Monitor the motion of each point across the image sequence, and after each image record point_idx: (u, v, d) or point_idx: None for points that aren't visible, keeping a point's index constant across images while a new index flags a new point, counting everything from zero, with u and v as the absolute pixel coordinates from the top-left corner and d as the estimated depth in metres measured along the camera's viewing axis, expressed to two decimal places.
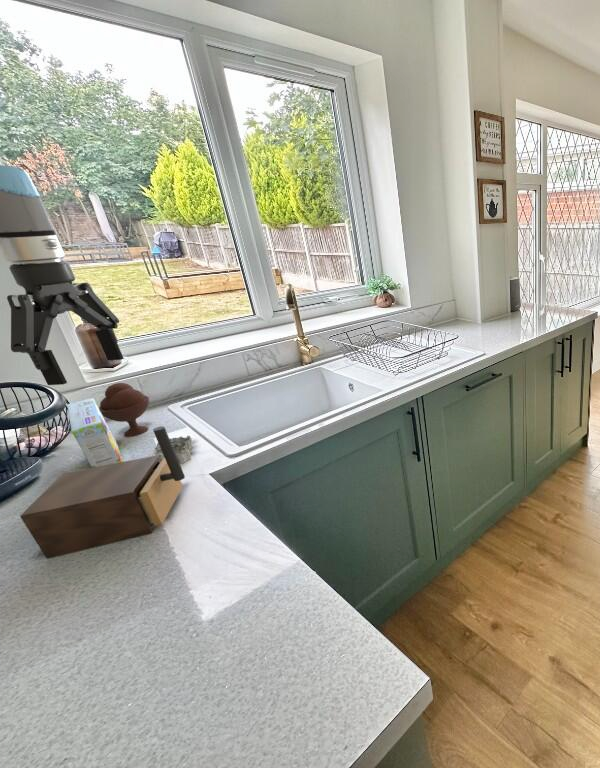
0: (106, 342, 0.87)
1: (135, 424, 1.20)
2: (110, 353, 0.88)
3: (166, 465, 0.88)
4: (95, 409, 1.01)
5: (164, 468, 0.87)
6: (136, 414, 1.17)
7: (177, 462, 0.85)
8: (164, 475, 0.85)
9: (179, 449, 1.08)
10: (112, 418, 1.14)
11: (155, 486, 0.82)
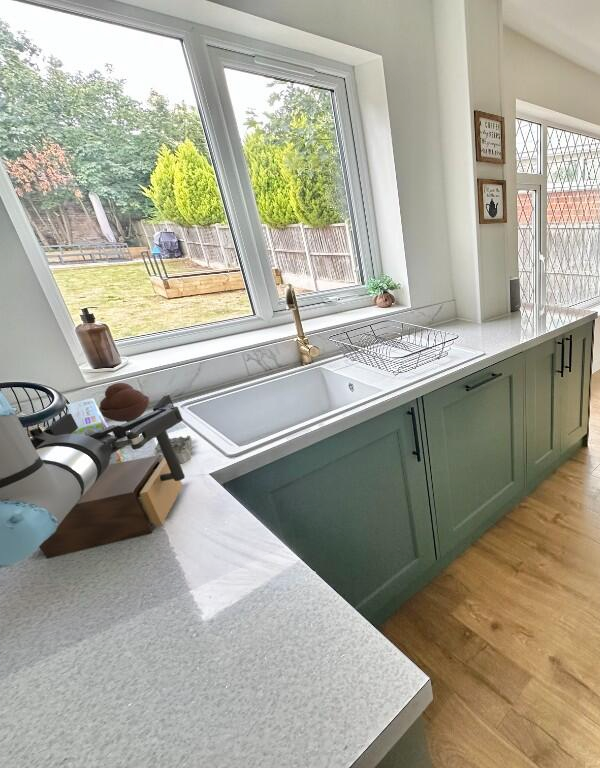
0: None
1: None
2: None
3: (166, 465, 0.88)
4: (95, 409, 1.01)
5: (164, 468, 0.87)
6: (136, 414, 1.17)
7: (177, 462, 0.85)
8: (164, 475, 0.85)
9: (179, 449, 1.08)
10: (112, 418, 1.14)
11: (155, 486, 0.82)
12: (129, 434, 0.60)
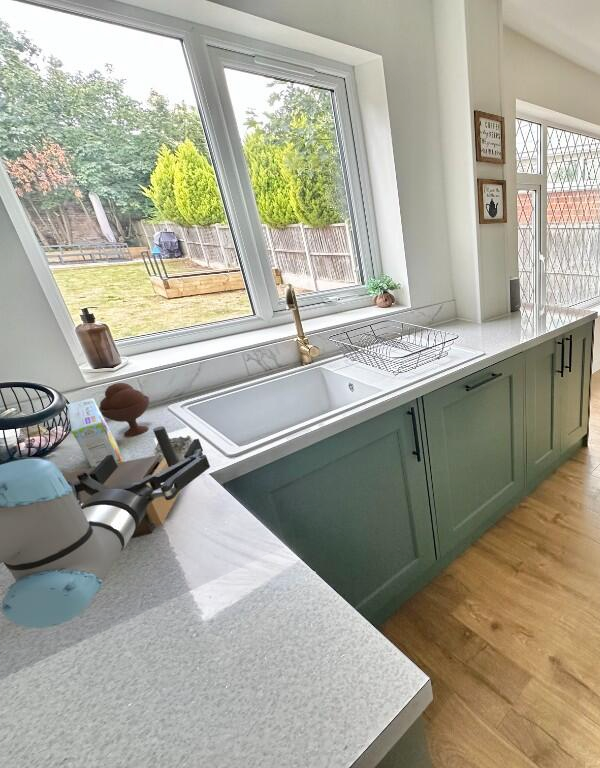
0: None
1: (135, 424, 1.20)
2: None
3: (166, 465, 0.88)
4: (95, 409, 1.01)
5: (164, 468, 0.87)
6: (136, 414, 1.17)
7: (177, 462, 0.85)
8: None
9: (179, 449, 1.08)
10: (112, 418, 1.14)
11: None
12: (163, 487, 0.67)
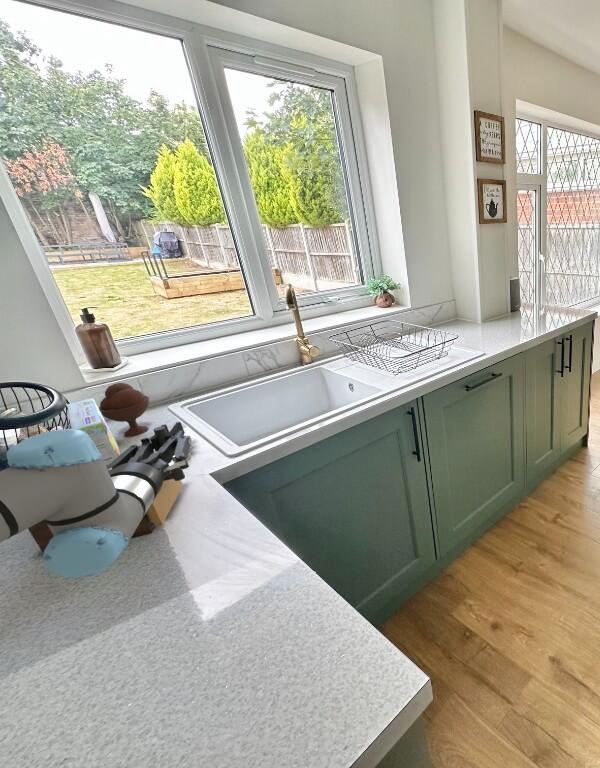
0: None
1: (135, 424, 1.20)
2: None
3: None
4: (95, 409, 1.01)
5: None
6: (136, 414, 1.17)
7: None
8: None
9: None
10: (112, 418, 1.14)
11: None
12: (181, 457, 0.75)
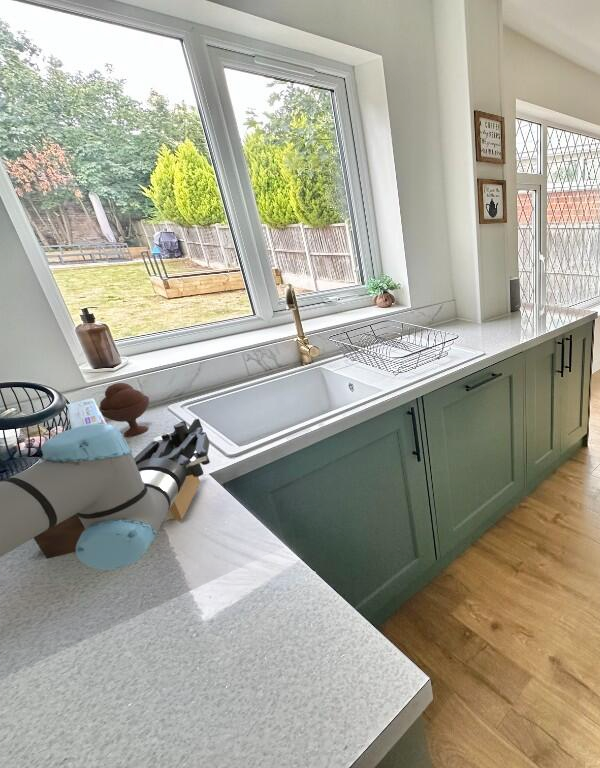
0: None
1: (135, 424, 1.20)
2: None
3: None
4: (95, 409, 1.01)
5: None
6: (136, 414, 1.17)
7: None
8: None
9: None
10: (112, 418, 1.14)
11: None
12: (202, 453, 0.76)
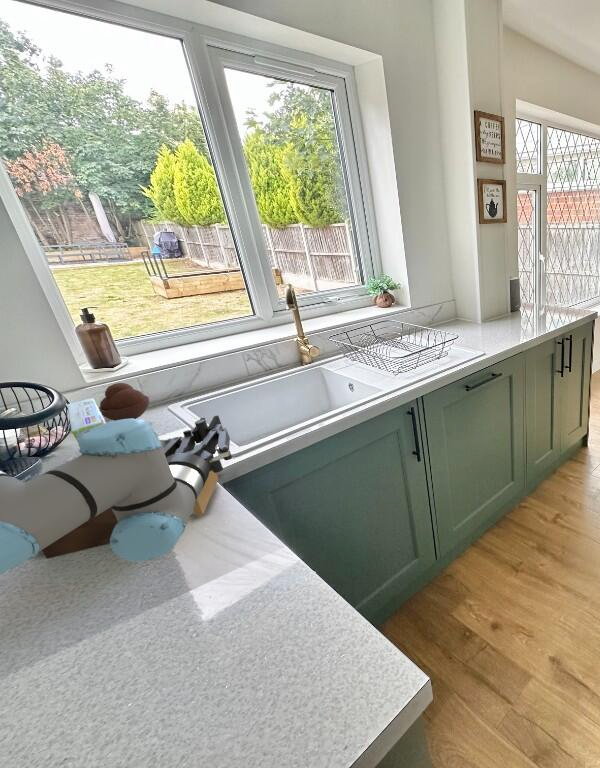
0: None
1: None
2: None
3: None
4: (95, 409, 1.01)
5: None
6: (136, 414, 1.17)
7: None
8: None
9: None
10: (112, 418, 1.14)
11: None
12: (225, 448, 0.77)
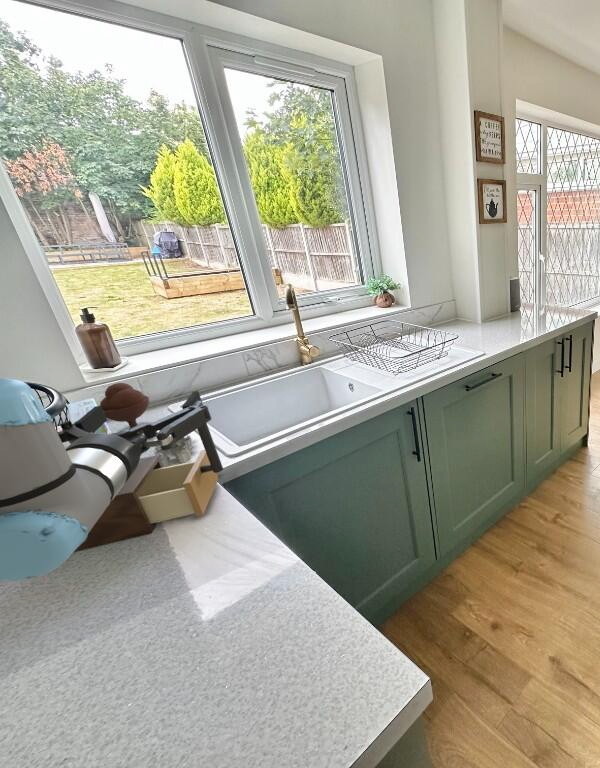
0: None
1: (135, 424, 1.20)
2: None
3: (204, 457, 0.90)
4: None
5: (203, 460, 0.89)
6: (136, 414, 1.17)
7: (216, 454, 0.87)
8: (204, 467, 0.87)
9: (179, 449, 1.08)
10: (112, 418, 1.14)
11: (196, 477, 0.85)
12: (159, 435, 0.59)
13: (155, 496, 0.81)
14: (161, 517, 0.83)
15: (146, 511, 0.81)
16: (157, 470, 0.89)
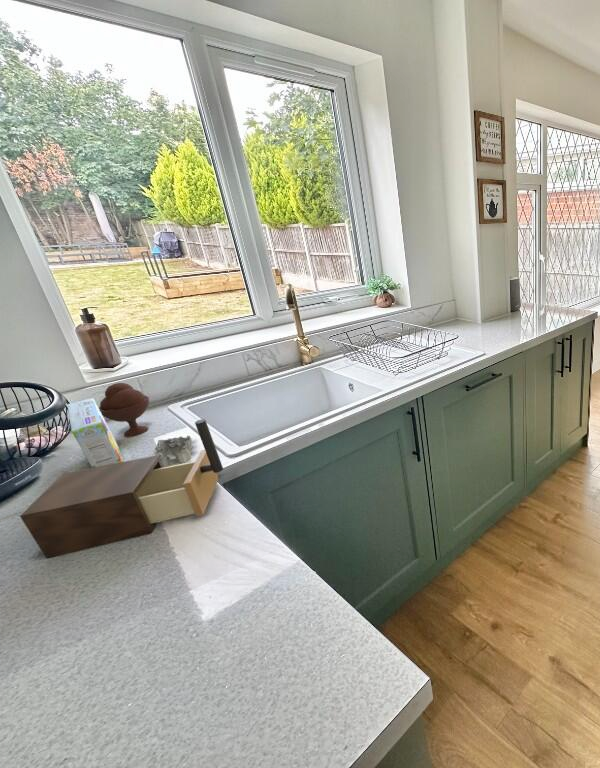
0: None
1: (135, 424, 1.20)
2: None
3: (204, 457, 0.90)
4: (95, 409, 1.01)
5: (203, 460, 0.89)
6: (136, 414, 1.17)
7: (216, 454, 0.87)
8: (204, 467, 0.87)
9: (179, 449, 1.08)
10: (112, 418, 1.14)
11: (196, 477, 0.85)
12: None
13: (155, 496, 0.81)
14: (161, 517, 0.83)
15: (146, 511, 0.81)
16: (157, 470, 0.89)
